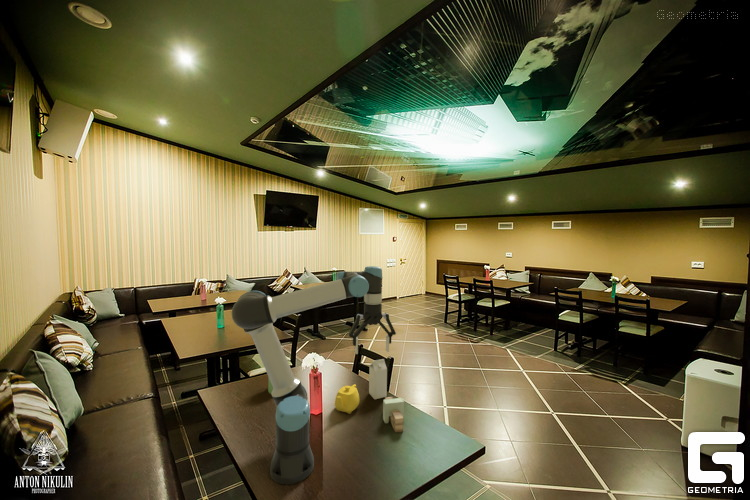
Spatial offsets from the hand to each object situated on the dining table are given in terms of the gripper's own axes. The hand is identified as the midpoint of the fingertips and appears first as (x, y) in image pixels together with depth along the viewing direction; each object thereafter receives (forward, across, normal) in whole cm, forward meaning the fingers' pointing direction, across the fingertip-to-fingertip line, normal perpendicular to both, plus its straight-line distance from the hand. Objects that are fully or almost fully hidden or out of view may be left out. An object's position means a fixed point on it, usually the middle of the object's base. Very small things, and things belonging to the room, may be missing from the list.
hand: (372, 351), depth 129 cm
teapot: (+35, +8, -19) cm, 41 cm away
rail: (+35, -12, -6) cm, 37 cm away
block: (+35, -12, -6) cm, 37 cm away
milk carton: (+35, -10, -29) cm, 46 cm away
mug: (+35, +43, -46) cm, 72 cm away
